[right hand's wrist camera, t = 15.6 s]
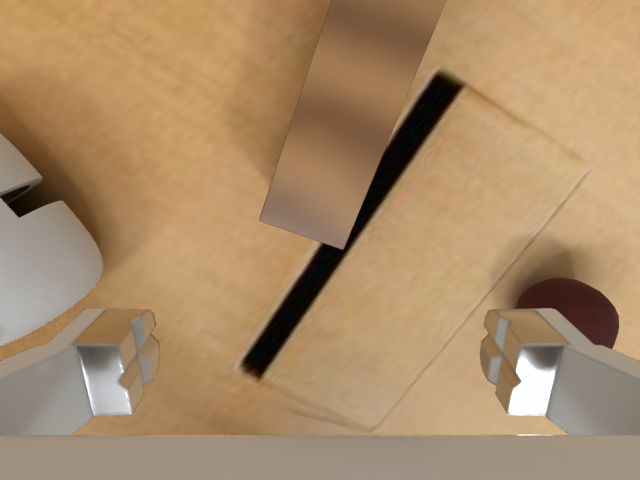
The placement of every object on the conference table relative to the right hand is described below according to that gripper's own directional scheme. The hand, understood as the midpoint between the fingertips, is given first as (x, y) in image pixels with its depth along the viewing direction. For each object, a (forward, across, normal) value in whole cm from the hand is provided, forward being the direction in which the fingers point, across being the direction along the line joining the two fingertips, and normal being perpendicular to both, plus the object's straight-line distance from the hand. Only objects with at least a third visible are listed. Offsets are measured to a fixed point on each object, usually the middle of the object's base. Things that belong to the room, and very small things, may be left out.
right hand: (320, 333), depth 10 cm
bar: (+25, -3, -8) cm, 26 cm away
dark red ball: (+25, -20, +13) cm, 34 cm away
